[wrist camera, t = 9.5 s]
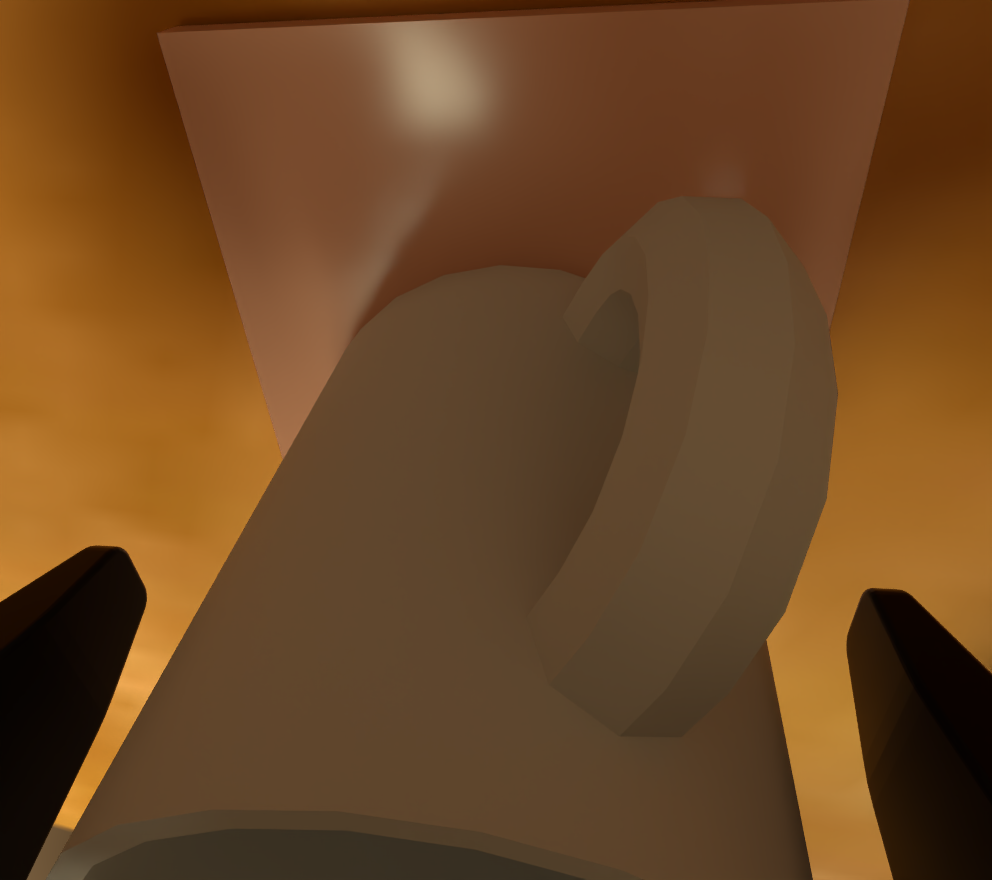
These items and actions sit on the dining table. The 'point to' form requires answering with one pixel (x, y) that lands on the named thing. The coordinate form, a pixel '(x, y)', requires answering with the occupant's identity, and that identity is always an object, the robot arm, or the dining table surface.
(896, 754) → the robot arm
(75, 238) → the dining table surface
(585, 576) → the cup
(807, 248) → the coaster pad
